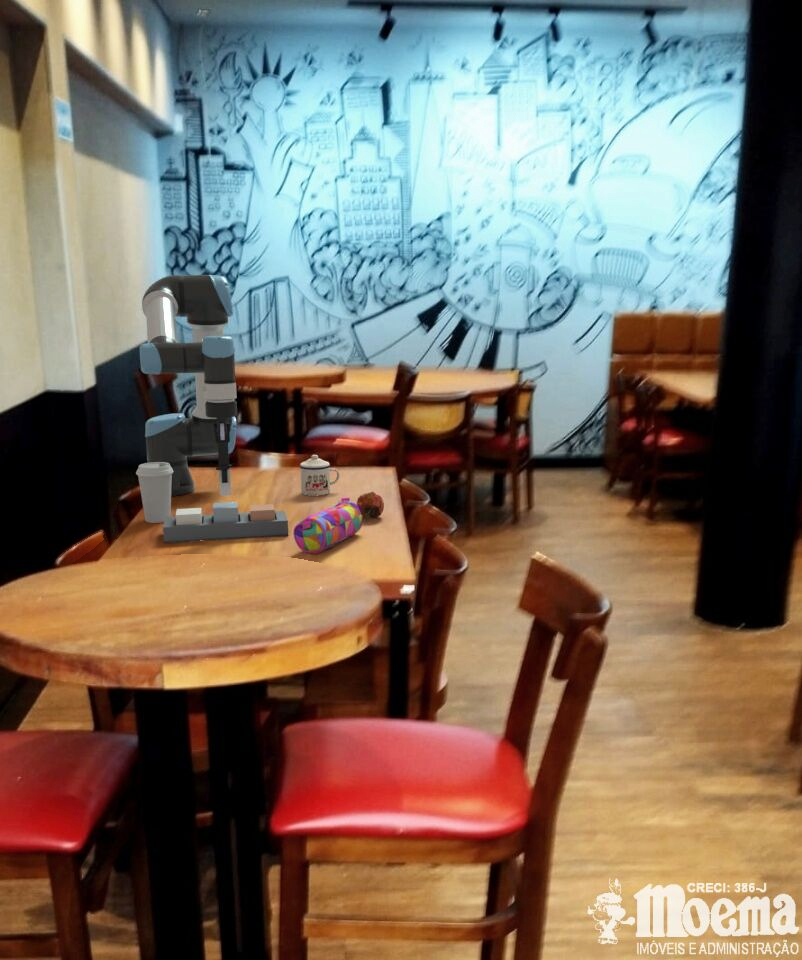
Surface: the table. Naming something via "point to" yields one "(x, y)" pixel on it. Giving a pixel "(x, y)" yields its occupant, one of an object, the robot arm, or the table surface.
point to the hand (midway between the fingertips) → (225, 494)
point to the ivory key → (188, 516)
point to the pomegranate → (370, 505)
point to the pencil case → (328, 527)
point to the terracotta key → (262, 512)
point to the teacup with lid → (316, 476)
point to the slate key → (225, 512)
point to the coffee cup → (155, 490)
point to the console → (225, 529)
